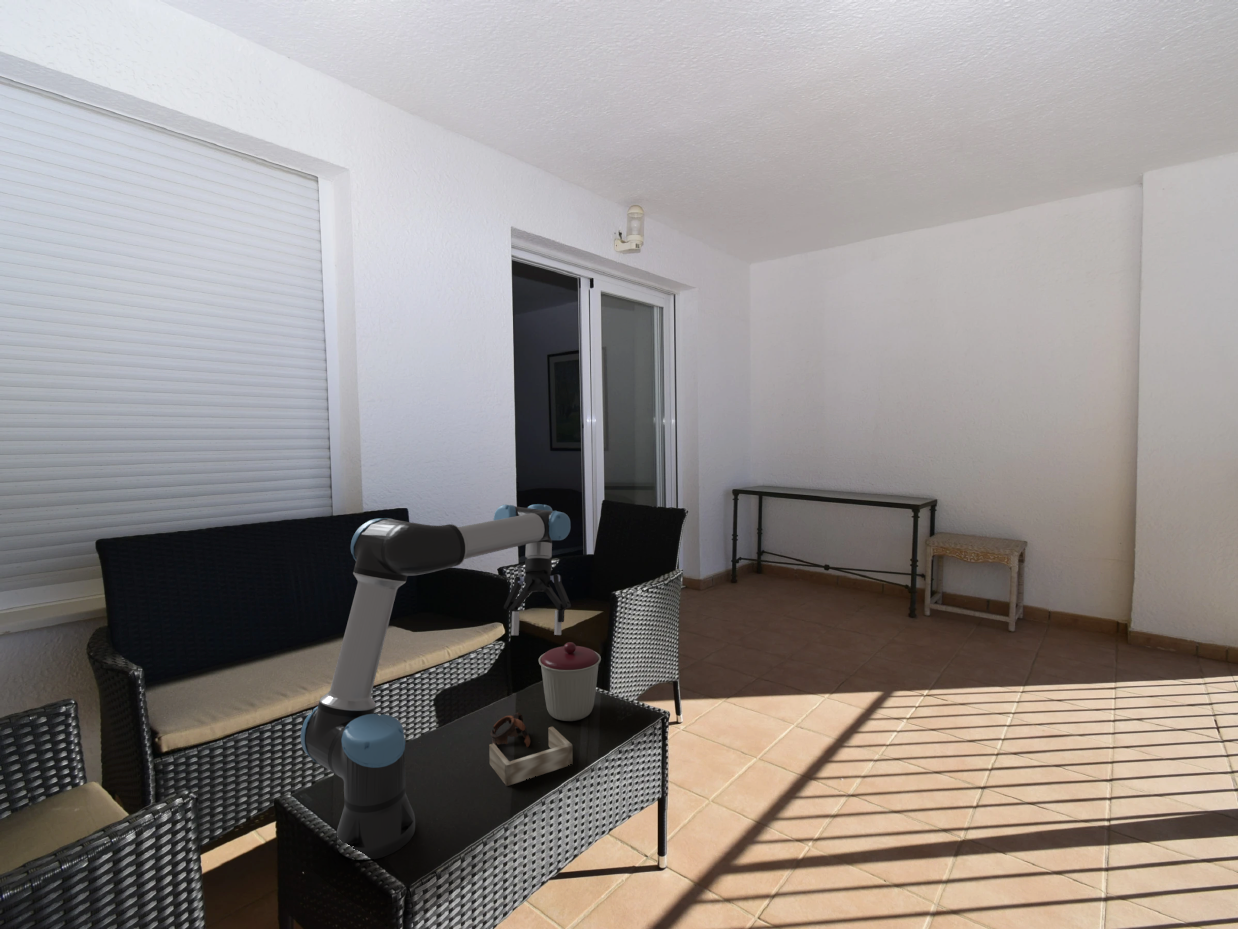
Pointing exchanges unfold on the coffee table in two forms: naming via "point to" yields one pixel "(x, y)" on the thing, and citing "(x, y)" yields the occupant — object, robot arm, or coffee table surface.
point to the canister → (569, 681)
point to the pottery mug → (510, 729)
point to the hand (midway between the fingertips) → (536, 635)
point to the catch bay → (533, 760)
